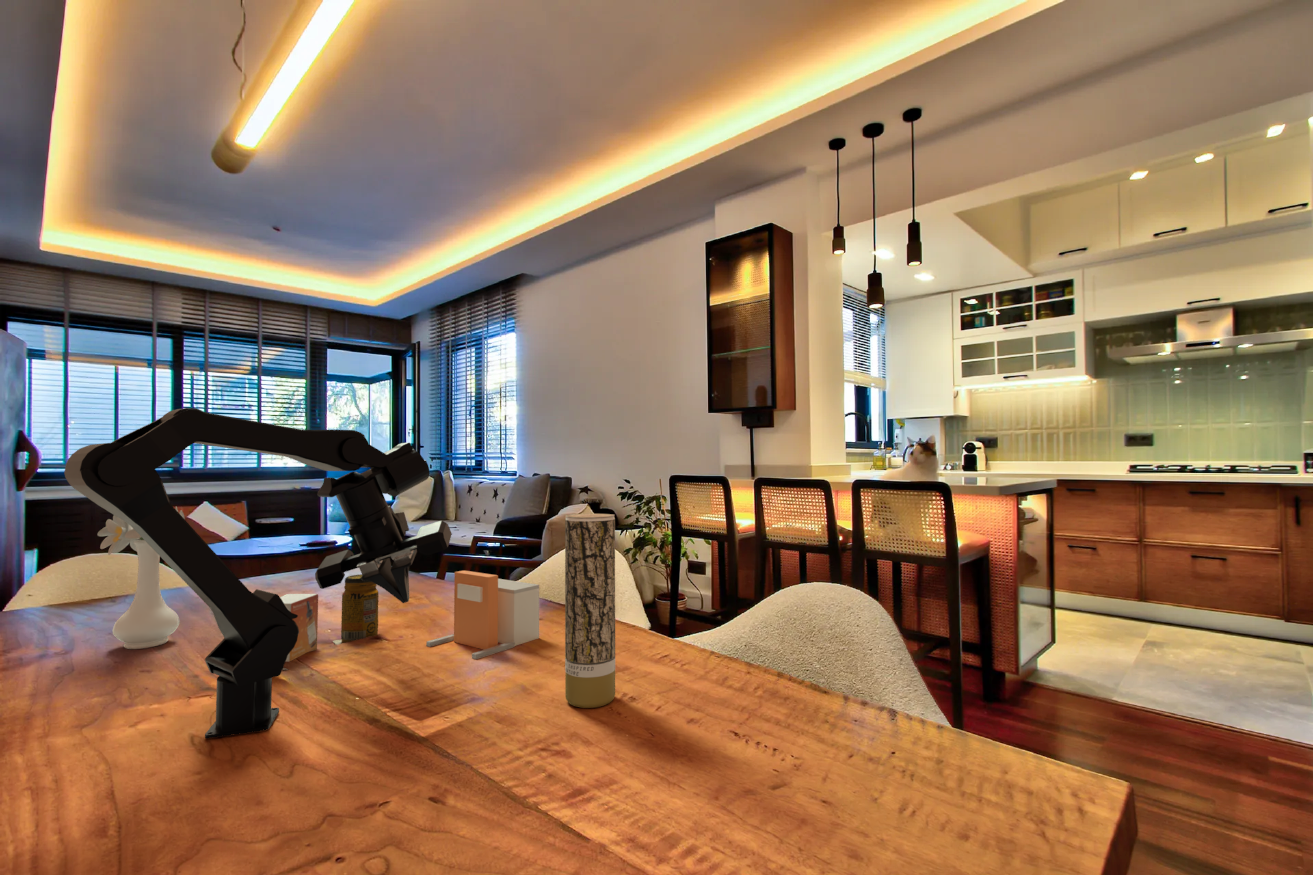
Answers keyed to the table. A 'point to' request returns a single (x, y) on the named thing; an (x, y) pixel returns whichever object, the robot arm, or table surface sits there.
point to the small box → (303, 622)
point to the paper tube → (589, 609)
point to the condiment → (358, 610)
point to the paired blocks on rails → (510, 617)
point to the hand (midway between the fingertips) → (406, 601)
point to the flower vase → (141, 591)
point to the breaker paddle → (476, 609)
